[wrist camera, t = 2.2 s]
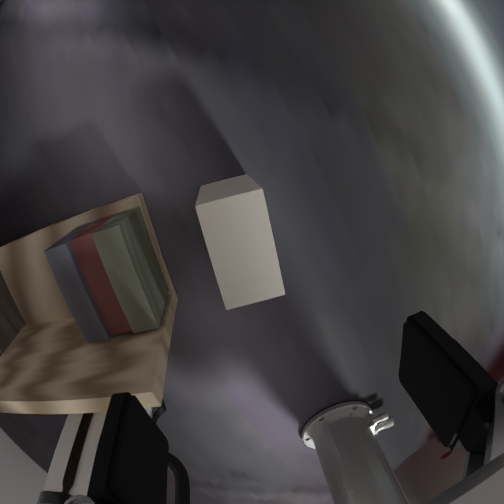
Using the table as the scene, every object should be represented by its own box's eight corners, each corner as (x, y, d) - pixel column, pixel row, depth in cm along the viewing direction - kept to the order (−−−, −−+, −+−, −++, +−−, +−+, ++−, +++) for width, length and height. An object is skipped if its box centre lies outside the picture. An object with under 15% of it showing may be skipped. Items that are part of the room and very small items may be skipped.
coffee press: (91, 430, 39) (60, 582, 11) (57, 360, 34) (-18, 546, 6) (190, 438, 41) (197, 609, 13) (176, 367, 36) (168, 609, 8)
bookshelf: (142, 192, 28) (78, 241, 14) (178, 298, 32) (161, 406, 18) (-7, 249, 27) (-85, 308, 13) (32, 331, 32) (-21, 410, 17)
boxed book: (246, 174, 29) (262, 188, 20) (263, 249, 32) (285, 294, 22) (200, 185, 29) (195, 206, 19) (221, 260, 32) (226, 310, 22)
